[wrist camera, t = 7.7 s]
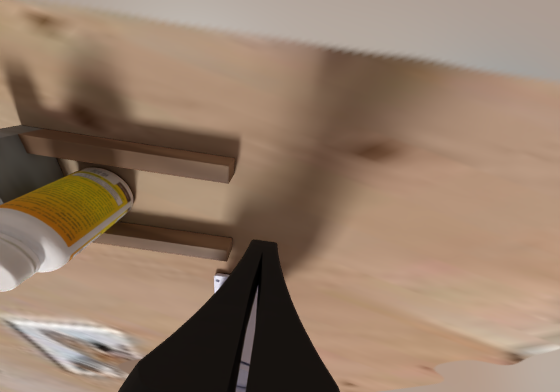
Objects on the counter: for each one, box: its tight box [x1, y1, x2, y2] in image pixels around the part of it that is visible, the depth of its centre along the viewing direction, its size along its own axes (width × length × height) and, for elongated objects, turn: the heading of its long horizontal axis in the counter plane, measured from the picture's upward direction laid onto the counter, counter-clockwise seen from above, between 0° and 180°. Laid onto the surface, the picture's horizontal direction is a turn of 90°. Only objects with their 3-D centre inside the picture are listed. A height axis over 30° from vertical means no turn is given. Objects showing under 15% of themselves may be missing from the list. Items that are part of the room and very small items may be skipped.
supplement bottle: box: [0, 167, 133, 291], centre depth 17 cm, size 6×6×10 cm
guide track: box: [0, 125, 235, 261], centre depth 19 cm, size 11×19×5 cm, turn 82°
